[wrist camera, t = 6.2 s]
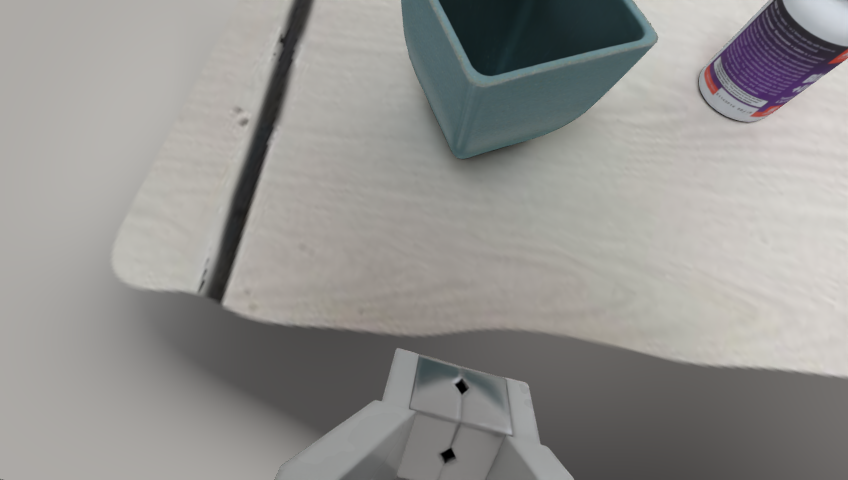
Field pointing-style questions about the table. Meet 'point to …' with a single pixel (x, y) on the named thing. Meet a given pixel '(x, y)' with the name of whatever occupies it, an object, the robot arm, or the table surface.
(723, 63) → the pill bottle
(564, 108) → the flower pot
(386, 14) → the table surface
